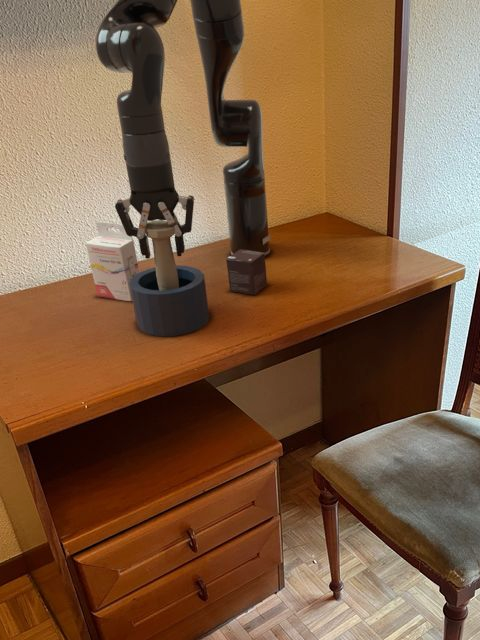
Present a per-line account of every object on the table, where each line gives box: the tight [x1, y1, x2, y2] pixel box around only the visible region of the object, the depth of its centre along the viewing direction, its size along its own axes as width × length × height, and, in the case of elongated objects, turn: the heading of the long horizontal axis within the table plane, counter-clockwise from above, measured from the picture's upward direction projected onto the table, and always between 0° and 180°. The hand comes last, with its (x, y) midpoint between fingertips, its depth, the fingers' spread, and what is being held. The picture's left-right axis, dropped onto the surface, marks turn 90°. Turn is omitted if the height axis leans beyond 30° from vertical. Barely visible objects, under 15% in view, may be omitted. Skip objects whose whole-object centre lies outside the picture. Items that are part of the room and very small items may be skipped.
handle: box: [145, 219, 179, 291], centre depth 122 cm, size 5×6×15 cm
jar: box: [129, 264, 210, 337], centre depth 126 cm, size 14×14×8 cm
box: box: [225, 249, 268, 296], centre depth 139 cm, size 6×6×7 cm
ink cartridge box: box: [85, 221, 140, 302], centre depth 135 cm, size 9×5×15 cm, turn 71°
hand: (163, 255), depth 121 cm, fingers closed on handle, 5 cm apart
